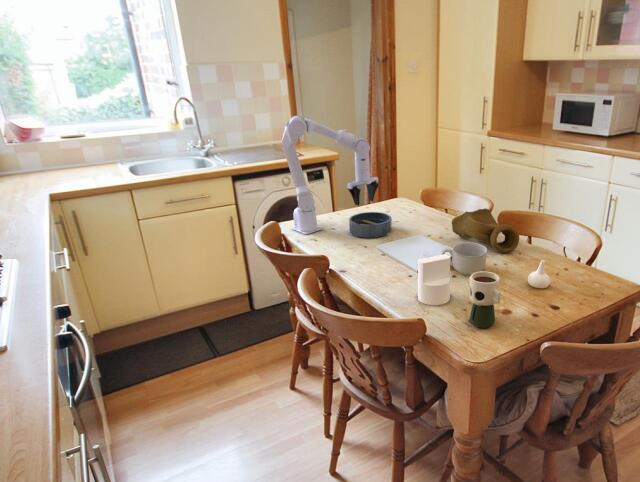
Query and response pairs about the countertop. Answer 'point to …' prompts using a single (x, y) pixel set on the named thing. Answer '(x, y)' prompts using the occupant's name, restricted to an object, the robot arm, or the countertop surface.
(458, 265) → the teacup
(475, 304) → the character mug
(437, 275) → the cylinder with rectangular tab
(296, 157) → the robot arm
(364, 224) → the brown rectangular block
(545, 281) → the garlic bulb
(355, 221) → the bowl
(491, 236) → the brown looped sculpture
